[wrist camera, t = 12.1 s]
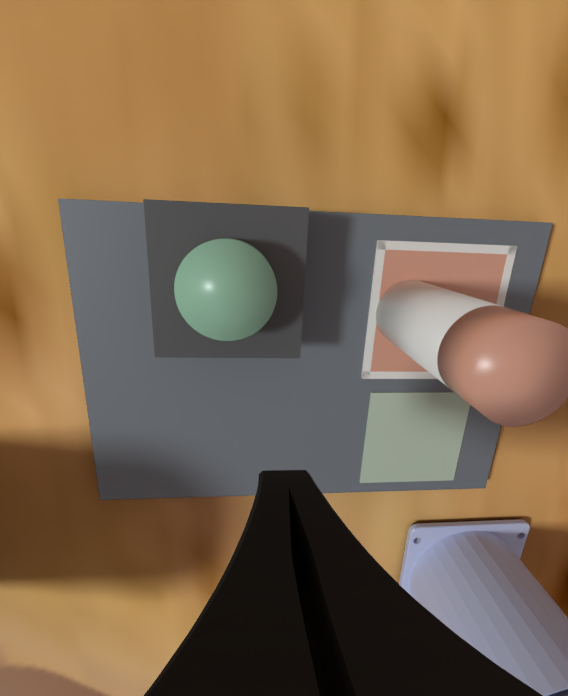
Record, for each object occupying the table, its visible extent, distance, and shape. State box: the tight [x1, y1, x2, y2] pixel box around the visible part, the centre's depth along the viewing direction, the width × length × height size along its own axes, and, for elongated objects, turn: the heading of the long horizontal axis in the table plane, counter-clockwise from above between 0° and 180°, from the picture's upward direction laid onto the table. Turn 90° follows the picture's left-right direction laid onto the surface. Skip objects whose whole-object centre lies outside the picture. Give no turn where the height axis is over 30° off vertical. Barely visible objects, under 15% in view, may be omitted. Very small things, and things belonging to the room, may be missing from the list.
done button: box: [174, 238, 277, 341], centre depth 14 cm, size 4×4×1 cm
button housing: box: [143, 199, 309, 358], centre depth 15 cm, size 6×6×2 cm
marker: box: [376, 280, 568, 427], centre depth 14 cm, size 3×3×8 cm
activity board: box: [58, 199, 553, 500], centre depth 19 cm, size 15×22×1 cm
